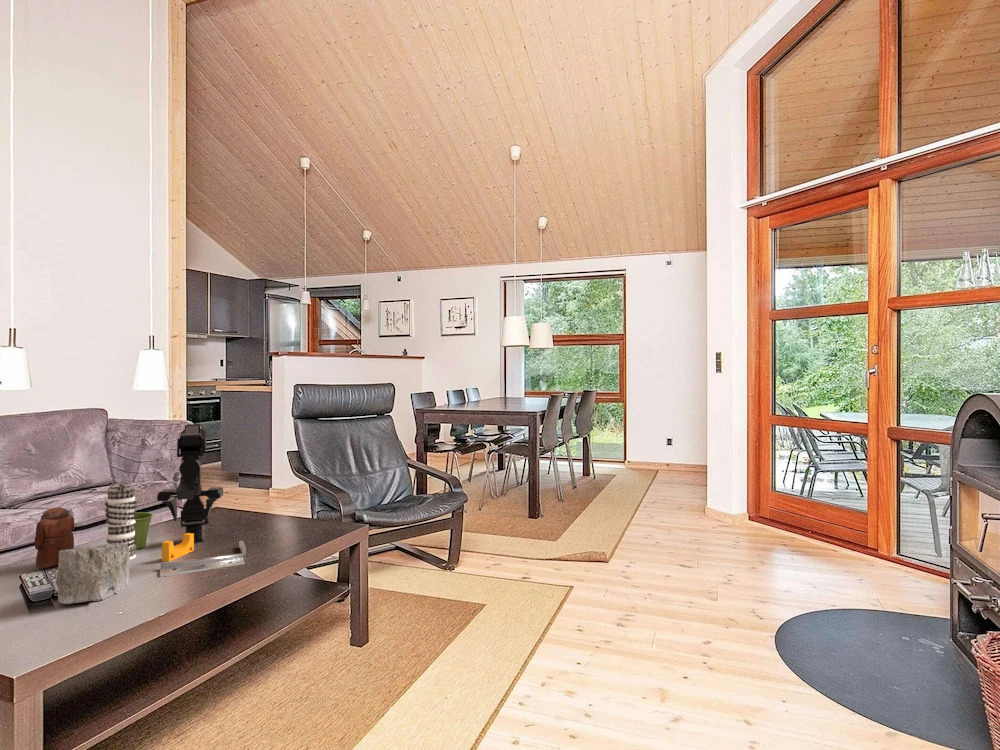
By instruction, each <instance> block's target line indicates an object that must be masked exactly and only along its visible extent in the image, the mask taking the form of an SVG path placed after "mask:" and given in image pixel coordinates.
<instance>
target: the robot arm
mask: <svg viewBox="0 0 1000 750" xmlns="http://www.w3.org/2000/svg"><path fill="white" fill-rule="evenodd" d="M176 442H177V445H176V458H180V465H179V467H178V469H179V473H180V477H179V478H180V479H179V480H180V481H179V484H178V486H177V488H176V489H175V488H166V489H165V488H163V489H162V490H160V491H158V493H157V495H156V499H157V500H156V501H157V502H161V503H162V504H165V505H166V506H167V507H168V509H169V511H170V513H171V516H172V518H173V521H174V522H177V520H178V502H177V501H178V500H179V501H182V500H185V502H183V505H182V509H181V510H180V528H185V532H184V534H186V533H194V544H196V543H197V544H198V542H199V543H204V542H205V538H204V533H203V532H204V531H203V530H204V529H203V528H204V525H205V526H207V525H208V524H209V515H210V512H211V510H212V507H213V504H214V503H215V502H217V500H218V499H220V498H222V497H223V496H224V489H223V487H222V486H214V487H211V486H210V487H209V488H208V489H205V490H204V489H203V488H202V487H203V486H202V484H201V482H202V481H201V478H202V473H201V471H202V469H201V467H202V466H201V465H202V464H201V461H202V460H201V457H204V454H206V448H207V432H206V431H205V430H204V429H203V428H201V424H199V423H194V424H193V423H191V424H190V423H189V424H184V429H183V430H182V431H181V432H180V433H179V437H178V438H177V441H176ZM202 489H203V490H202ZM201 497H207V499H206V500H205V502H204V501H203V499H202V498H201Z"/></svg>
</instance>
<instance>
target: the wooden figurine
mask: <svg viewBox="0 0 1000 750" xmlns="http://www.w3.org/2000/svg"><path fill="white" fill-rule="evenodd" d="M35 527H36V528H35V537H34V547H35V549H36V550H37V552H36V558H35V568H41V569H42V568H45V569H46V568H50V567H54V566H58V565H59V556H58V555H59V551H61V550H68V549H75V537H74V533H73V532H74V530H75V529H76V528H75V527H76V526H75V518H74V516H73V515H71V514H70V512H69V511H68V510H67V509H66V508H63V507H52V508H49V509H47V510H46V511H44V512H43V514H42V515H41V517H40V520H39V521H38V522H37V524H36V525H35Z"/></svg>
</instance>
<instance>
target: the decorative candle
mask: <svg viewBox="0 0 1000 750" xmlns="http://www.w3.org/2000/svg"><path fill="white" fill-rule="evenodd" d="M135 488H136V487H135V486H133V485H132V484H131V483H130V482H119V483H113V484H111V485H110V486H109V488H107V489H106V491H107V499H106V502H104V506H105V507H106V508H105V517H106V519H105V523H106V527H107V532H108V533H107V538H106V540H105V541H106V543H107V544H110V545H118V544H127V545H128V549H129V561H131V560H134V559H135V558H136V557H137V555H136V554H137V549H136V546H135V545H134V544H135V543H136V541H135V540H134V539H135V538H136V536H135V530H134V523H136V521H135V520H134V519H135V518H136V516H134V515H135V514H136V513H137V511H136V510H135V509H136V508H138V505H136V504H137V503H138V502H137V500H136V496H135ZM135 549H136V550H135Z"/></svg>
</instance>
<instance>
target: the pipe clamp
mask: <svg viewBox="0 0 1000 750" xmlns="http://www.w3.org/2000/svg"><path fill="white" fill-rule="evenodd" d="M182 535H183V536H182V540H181V542H180V543H177V544H175V545H174V541H173V540H165V541H163V542H162V543H161V562H164V561H170V562H172V561H174V560H176V559H178V558H181V557H183V556H185V555H187V554H189V552H190V553H191V552H194V551H195V543H194V533H186V534H185V533H183V534H182ZM193 550H194V551H193ZM180 556H181V557H180ZM171 560H172V561H171Z"/></svg>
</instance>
